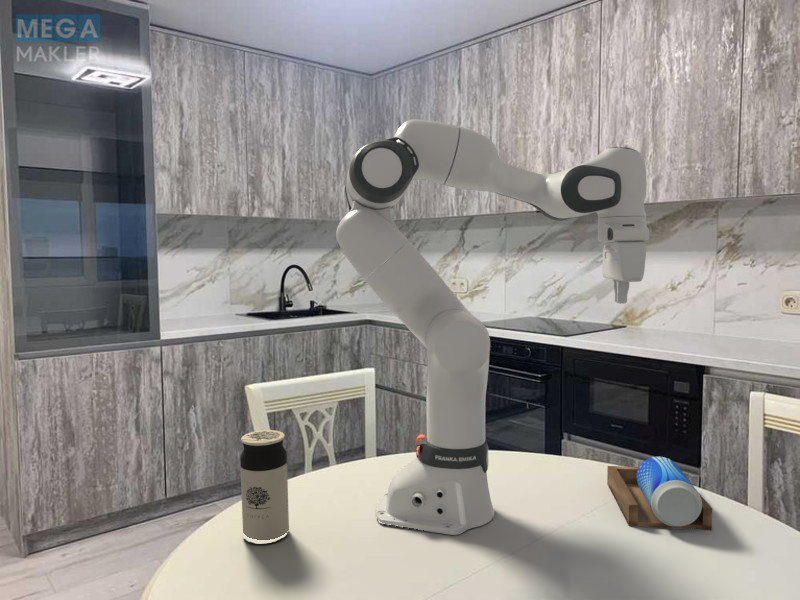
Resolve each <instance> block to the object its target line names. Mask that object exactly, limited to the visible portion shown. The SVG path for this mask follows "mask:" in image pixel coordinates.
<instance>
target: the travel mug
mask: <svg viewBox="0 0 800 600" xmlns="http://www.w3.org/2000/svg"><path fill="white" fill-rule="evenodd" d="M285 438H286V436H285V433H283V432H282V431H279V430H274V429H273V430H272V429H267V430H263V429H262V430H255V431H252V432H248V433H245V434H244V435H242V436H241V438H240V442H242V445H243V450H242V451H241V454H240V456H239V460H240V462H239V463H240V489H241V492H240V493H241V511H242V512H241V513H242V514H241V515H242V518H241V519H242V534H243V533H244V534H245V535H246V536H247V537H249V538H252V539H257V540H270V539H275V538H278V537H280V536H282V535H284V534H285V533H287V531H288V530H289V531H290V521H289V520H290V518H289V516H290V515H289V513H290V512H289V489H288V488H289V487H288V486H289V485H288V482H289V479H288V458H287V455H288V453H287V451H286V448H285V447H284V445H283V443H284V439H285Z"/></svg>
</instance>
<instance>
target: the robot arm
mask: <svg viewBox="0 0 800 600" xmlns="http://www.w3.org/2000/svg"><path fill="white" fill-rule="evenodd" d="M646 170H647V168H646V162H645V159H644V156H643V154H642V153H641V152H639V151H638V150H636V149H634V148H630V147H623V146H621V147H620V146H619V147H618V146H615V147H614V146H613V147H607V148H605V149H603V150H602V152H600V153H599V154H597V155H596V156H594V157H593V158H590V159H588V160H587V161H584V162H582V163H579V164H577V165H573V166H571V167H569V168H566V169H564V170H561V171H558V172H553V173H546V174H545V173H543V174H542V173H537V172H534V171H530V170H528V169H525V168H521V167H518V166H515V165H512V164H509V163H507V162H505V161H504V160H502V158H501V157H500V155H499V154H498V150H497V147H496V146H495V143H494V142H493V141H492V140H491V138H489V137H486V136H485V135H483V134H481V133H478V132H477V131H474V130H472V129H469V128H467V127H466V128H465V127H463V126H458V125H455V124H450V123H447V122H442V121H441V122H440V121H435V120H427V119H418V118H417V119H414V118H413V119H408V120H406V121H404V122H403V123H402V124H401V125H400V126H399V127H398V128H397V131H396V132H395V133H394V136H393V137H390V138H387V139H383V140H382V139H381V140H377V141H372V142H370V143H368V144H366V145H363V146H362V147H360V148H359V149H358V150H357V151H356V153H355V154H354V155H353V157H351V162H350V163H349V166H348V168H347V169H346V173H345V182H344V183H345V184H344V185H345V187H344V188H345V189H344V191H345V196H346V200H347V201H346V202H347V206H348V210H349V211H348V213H346V214H345V215H344V216H343V217H342V219H341V220H340V221H339V223H338V225H337V228H336V232H335V238H336V242H337V244H338V246H339V247H340V248H341V251H342V252H343V254H344V255H345V257H346V258H347V260H348V262H349V263H350V265H351V266H352V267H353V269H355V271H356V272H357V273H358V274H359V276H360V277H361V278H362V280H364V282H365V283H366V284H367V285H368V286H369V287H370V288H371V290H373V292H374V293H375V294H376V295H377V296H378V298H379V299H380V300H381V301H382V302H383V304H385V306H386V307H387V308H388V309H389V310H390V311H391V313H393V315H394V316H395V317H396V318H398V319H399V320H400V321H401V323H402V324H404V326H405V327H406V328H407V329H408V330H409V331H410V332H411V333H412V334H413V335H414V336H415V337H416V338H417V340H418V341H419V342H420V343H421V344H422V345H423V346H424V347H425V348H426V351H427V382H426V383H427V384H426V399H425V400H426V403H425V404H426V409H425V410H426V435H425V434H419V435H418V436H417V437H416V439H415V440H416V441H415V443H416V446H415V451H416V452H415V453H416V455H415V458H413V459H412V460H411V461H410V462H408V463H407V464H406V465H405V466H403V467H400V469H399V470H397V471H396V472H395V474H393V477H392V478H391V480H390V482H389V485H388V490H387V493H385V494H384V495H382V496H381V498H380V499H379V500H378V503H377V504H376V508H375V518H376V517H377V519H378V520H379V521H380V522H382V523H385V524H391V525H398V526H403V527H409V528H414V529H413V530H416V529H418V531H423V530H424V531H425V532H430V533H438V534H445V535H451V536H459V535H461V534H463V533H464V532H466V531H467V530H470V529H474V528H477V527H481V526H483V525H485V524H486V525H487V523H489V522H490V521H492V519H494V516H495V509H494V506H493V503H492V499H491V496H490V495H491V493H490V488H489V482H488V481H489V480H488V476H487V475H488V474H487V473H488V472H487V471H488V468H489V446H488V440H487V439H486V396H487V388H488V387H487V386H488V380H489V379H488V377H489V370H490V369H489V368H490V354H491V353H490V351H491V340H490V339H491V337H490V334H489V331H488V329H487V327H486V325H485V324H484V323H483V321H481V320H480V319H479V318H477V317H476V316H475V315H473V313H471V312H470V311H469V310H468V309H467V308H466V306H465V305H464V304H463V303H462V301H461V300H460V299H459V297H457V296H456V295H455V294H454V292H453V290H451V288H450V286H448V284H447V283H446V282H445V281H444V280H443V279H442V278H441V276H440V274H439V273H438V272H437V271H436V270H435V268H434V267H433V266H432V265H431V264H430V263H429V262H428V261H427V260H426V258H425V257H424V256H423V255H422V253H420V252H419V250H418V248H416V246H414V245H413V244H412V242H411V241H409V239H408V238H407V236H406V235H405V234H403V232H402V231H401V230H400V229H399V227H398V226H397V224H396V223H395V221H394V219H393V216H392V209H393V208H394V206H395V205H397V203H398V202H399V201H400V200H401V199H402V197H403V195H404V193H405V192H406V190H407V188H408V187H409V185H410V183H411V182H413V181H417V180H418V181H430V182H432V183H435V184H438V185H443V186H446V187H449V188H450V187H451V188H455V189H461V190H469V191H479V192H488V193H489V192H490V193H494V194H497V195H501V196H504V197H507V198H510V199H513V200H516V201H517V200H518V201H521V202H523V203H526V204H528V205H530V206H532V207H533V208H535V209H536V211H538V212H539V213H540V214H542V215H543V216H544V217H546V218H547V219H550V220H552V221H559V222H560V221H562V222H563V221H567V220H570V219H572V218H577V217H582V216H587V215H591V214H593V213H596V214H597V242H598V243H604V245H603V250H602V251H603V252H602V277H603V278H604V279H608V280H612V288H613V293H614V295H613V296H614V302H615V303H618V304H620V305H621V304H624V305H625V304H627V303H628V293H629V289H630V283H638V282H642V281H643V278H644V275H645V268H646V256H647V244H646V242H648V241H649V240H650V234H651V233H650V229H649V227H648V226H647V213H646V210H645V209H646V208H645V201H646V200H645V199H646V196H647V171H646ZM377 519H376V520H377ZM403 527H402V528H403ZM409 528H408V529H409Z"/></svg>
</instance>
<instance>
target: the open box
mask: <svg viewBox="0 0 800 600" xmlns="http://www.w3.org/2000/svg"><path fill="white" fill-rule="evenodd" d="M638 468H639V466H625V465H624V466H623V465H621V466H619V465H616V466H615V465H607V472H606V473H607V479H606V480H607V486H608V488H609V491H610V492H611V494H612V497H614V500H615V503H616V505H617V506H618V507H619V510H620V512H621V513H622V515H623V517H624V519H625V521H626V523H627V525H628V527H636V528H637V527H640V528H641V527H642V528H658V529H659V528H661V529H678V530H679V529H680V530H697V531H699V530H700V531H701V530H702V531H713V507H712V506H711V505H710V503H708V501H706V499H705V498H704V497H703V496H702V495H701V494H700V492H699V491H698V493H699V494H700V497H701V500H702V510H701V513H700V515H699V516H698V518H697V519H696V520H695V521H694V522H692V523H691V524H689V525H686V526H682V527H673V526H669V525H666V524H664V523H663V522H661V521H660V520H659V519H658V518H657V517H656V516H655V514H654V513H653V511H652V509H651V507H650V505H649V504H648V502H647V500H646V498H645V496H644V495H643V493H642V491H641V489H640V487H639V485H638V483H637V471H638Z"/></svg>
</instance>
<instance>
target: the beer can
mask: <svg viewBox="0 0 800 600" xmlns="http://www.w3.org/2000/svg"><path fill="white" fill-rule="evenodd" d="M638 467H639V468H638V471H637V483H638V485H639V487H640V489H641V491H642V493H643V495H644V496H645V498H646V500H647V502H648V504H649V505H650V507H651V509H652V511H653V513H654V514H655V516H656V517H657V518H658V519H659V520H660V521H661V522H663V523H664V524H666V525H669V526H673V527H682V526H686V525H689V524H691V523H692V522H694V521H695V520H696V519H697V518H698V516H699V515H700V513H701V510H702V500H701V497H700V495H701V493H700V492H699V491H698V489H696V487H695V486H694V484H692V482H691V481H690V480H689V478H688V477H687V476H686V474H685V473H684V472H683V470H681V468H680V467H679V466H678V464H677V463H675V462H674V461H673V460H672V459H670V458H667V457H665V456H664V457H663V456H652V457H650V458H647V459H645V460H644V461H642V463H640V464H639V466H638ZM698 492H699V493H698Z"/></svg>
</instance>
